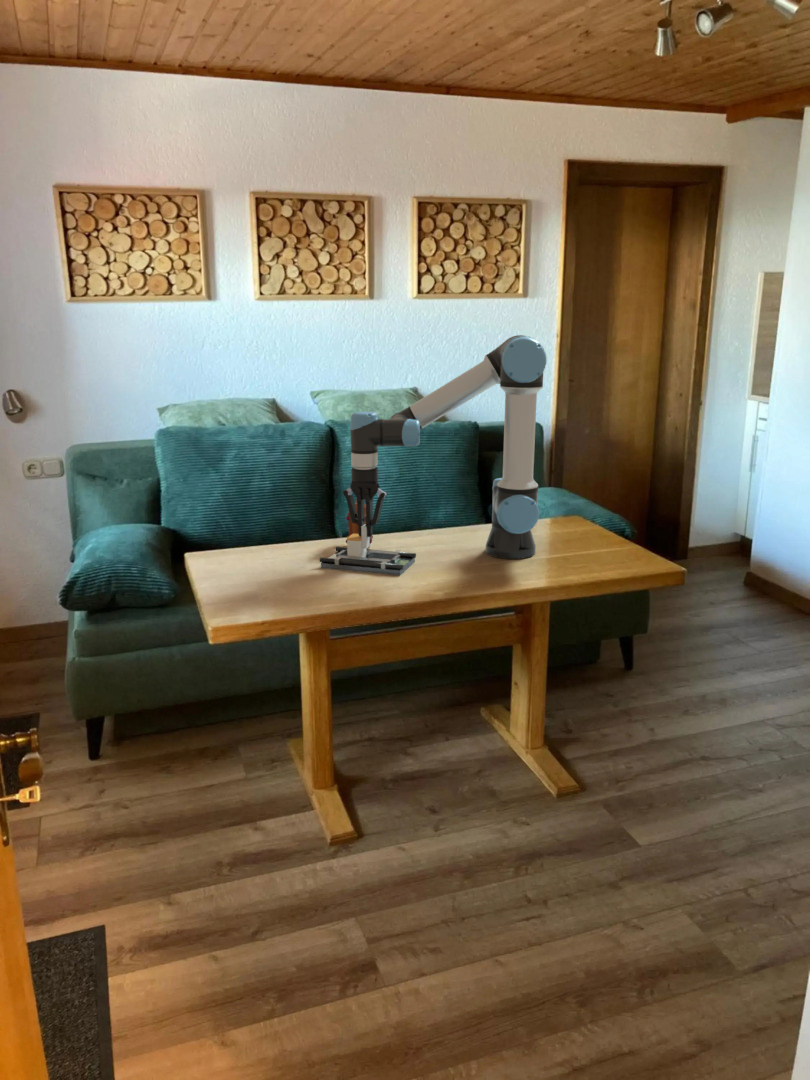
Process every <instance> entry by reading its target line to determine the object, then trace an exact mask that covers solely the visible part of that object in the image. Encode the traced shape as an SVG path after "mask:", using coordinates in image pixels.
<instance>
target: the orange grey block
mask: <svg viewBox="0 0 810 1080" xmlns="http://www.w3.org/2000/svg"><path fill="white" fill-rule="evenodd" d="M346 540H347V543H346V544H347V545H346V546H347V556H355V557H366V549H365V548H362V536H359V534H352V535H350V536H349V537H347V536H346Z"/></svg>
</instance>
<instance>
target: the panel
mask: <svg viewBox="0 0 810 1080" xmlns="http://www.w3.org/2000/svg"><path fill="white" fill-rule="evenodd" d="M335 551H336V552H335V553H333V554H331V555H330V556H329V557H321V556H320V557H319V563H320V568H321V569H326V570H337V571H338V570H339V571H345V572H347V571H348V572H356V573H358V572H359V573H366V574H367V573H369V574H370V573H371V574H376V575H377V574H378V575H379V574H380V575H387V576H388V575H390V576H397V577H398V576H399V577H400V576H402V574H403V573H405V572H406V570H408V569H409V568H410V567H411V566H412V565H413V564H414V563H415V562H416V558H417V553H416V552H404V551H401V550H400V549H397V550H395V551H393V550H382V549H381V550H380V549H370V548H369V549H366V557H355V556H347V547H345V546H336V547H335Z"/></svg>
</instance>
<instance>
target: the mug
mask: <svg viewBox="0 0 810 1080" xmlns="http://www.w3.org/2000/svg"><path fill="white" fill-rule="evenodd" d="M355 498H356V499H355V506H356V510H357V514H358V508H357V497H355ZM364 518H365V523H364V524H366V503H364ZM345 520H346V521H348V535H347V536H346V538H347V537H349V536H350V535H352V534H359V532H358V525H357V524H356V523H352V520H351V516H350V512H349V511H348V512H347V514H346V517H345ZM373 538H374V535H372V536H371V537H370V546H369V547H368V548H367V549H370V547H371V544H372V543H373ZM345 543H346V544H347V539H346V540H345Z"/></svg>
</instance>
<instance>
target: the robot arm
mask: <svg viewBox="0 0 810 1080" xmlns="http://www.w3.org/2000/svg"><path fill="white" fill-rule="evenodd" d="M546 365H547V353H546V350H545V348H544V346H543V345H542V344H541V342H540V341H538V340H537V339H535V338H533V337H531V336H527V335H523V334H522V335H521V334H520V335H513V336H511V337H509V338H506V340H504V342H502V343H501V344H500V345H499V346H497V347H496V348H495V349H493V350H492V351H490V352H489V353H487V354H485V355H484V358H483V360H482V361H481V362H479V363H478V364H476V365H474V366H473V367H471V368H469V369H468V370H466V371H464V372H463V373H461V374H460V375H458V376H456V377H455V378H452V379H451V380H449V381H448V382H446V383H445V384H443V385H442V386H440V387H439V388H437V389H435V390H434V391H432V392H431V393H429V394H427V395H426V396H424V397H422V398H420V399H419V400H418V401H416V402H414V403H412V404H411V405H409V406H408V407H405V408H404V409H402V410H401V411H398V412H395V413H394V414H393V415H391V417H390V418H389V419H382V418H379V417H378V414H377V412H375V411H367V410H366V411H363V410H362V411H356V412H353V413H352V414H351V415H350V459H351V460H350V461H351V462H350V465H351V467H352V468H351V472H350V473H351V483H350V486H349V487H348V488H346V489H344V490H343V491H342V494H343V496H344V497H345V499H346V503H347V508H348V513H349V512H350V516H351V520H352V523H356V524H357V525H358V532H359V536H362V548H365V549H367V548H368V547H369V546H370V547H371V544H370V537H371V536H373V526H375V525H377V524H379V522H380V518H381V515H382V514H381V513H382V508H383V505H384V501H385V498H386V497H387V495H388V492H387V491H383V489H381V488H380V484H379V469H378V467H377V466H378V463H379V461H378V459H379V455H378V454H379V453H378V451H379V450H378V447H406V448H410V447H418V446H419V445H420V443H421V430H422V429H424V428H426V427H427V426H429V425H430V424H432V423H434V422H435V421H437V420H439V419H440V418H442V417H444V416H445V415H447V414H449V413H450V412H452V411H453V410H455V409H457V408H458V407H460V406H462V405H463V404H465V403H467V402H468V401H469V402H470V400H473V399H474V398H475V397H477V396H479V395H480V394H482V393H484V392H485V391H487V390H489V389H491V388H492V387H493V386H496V385H499V386H500V387H499V388H501V390H502V391H503V392H504V394H505V395H504V396H505V398H504V424H503V425H504V427H503V428H504V430H503V456H502V458H503V459H502V477H499V478H495V479H493V482H492V488H491V490H492V507H491V508H492V509H491V511H492V513H491V517H492V518H491V528H490V532H489V534H488V537H487V540H486V542H485V553H486V554H487V555H489V556H491V557H494V558H498V559H500V558H501V559H509V560H511V559H512V560H516V559H526V558H530V557H532V556H535V555H536V543H535V540H534V536H533V532H532V529H533V528H534V527H535V526H536V525H537V523H538V521H539V518H540V508H539V505H538V502H539V499H538V496H539V484H538V483H537V482H536V480H535V479H534V465H535V444H536V443H535V440H536V419H537V400H538V399H537V395H538V393H539V392H540V391H541V390H542V389H543V388H544V387H543V386H544V372H545V369H546ZM353 494H354V496H355V498H357V508H358V514H357V510H356V506H355V504H356V501H355V499H354V496H353ZM376 495H377V500H376V504H375V508H374V506H373V505H374V504H373V502H374V497H375V496H376ZM364 504H366V524H364V523H365V518H364ZM373 511H374V512H373Z"/></svg>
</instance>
